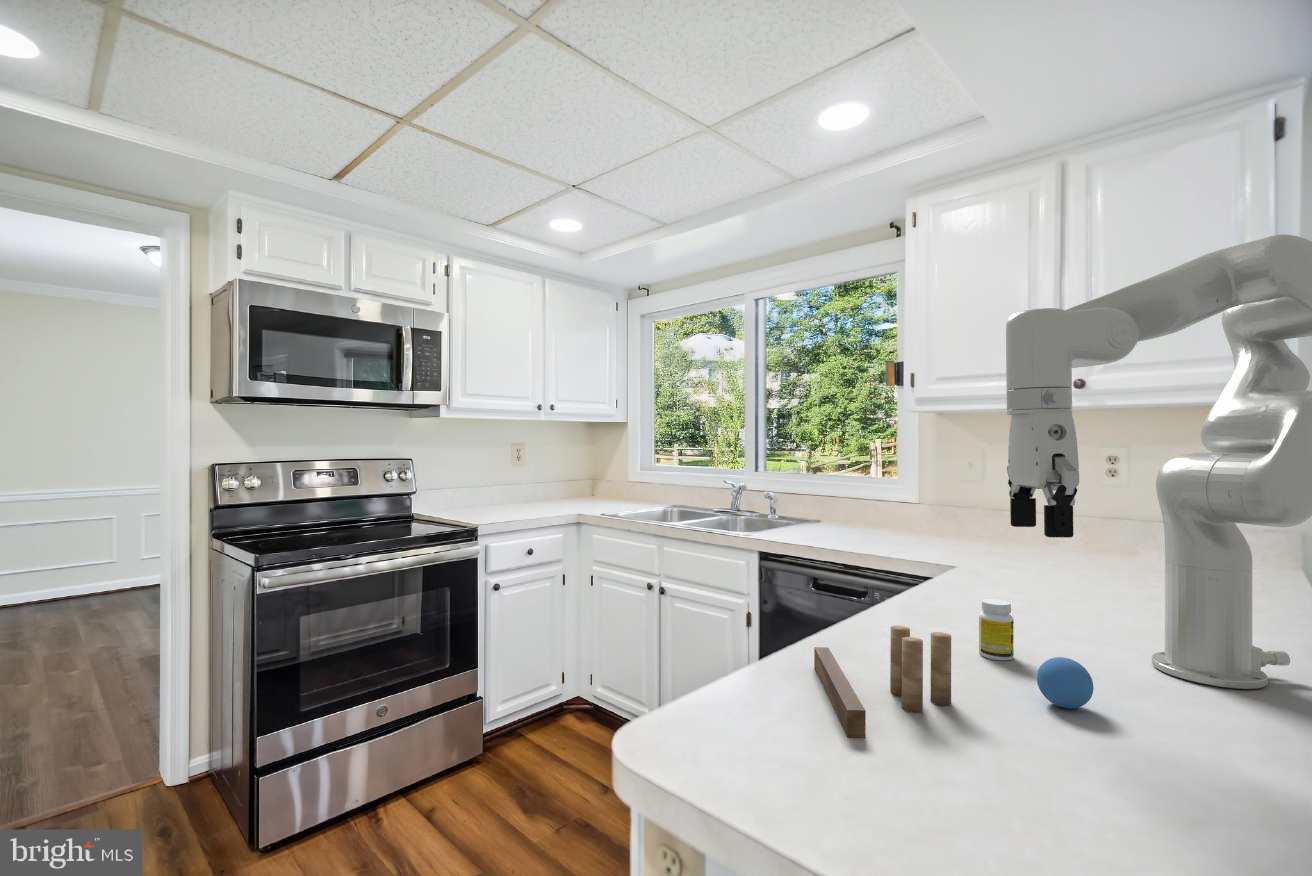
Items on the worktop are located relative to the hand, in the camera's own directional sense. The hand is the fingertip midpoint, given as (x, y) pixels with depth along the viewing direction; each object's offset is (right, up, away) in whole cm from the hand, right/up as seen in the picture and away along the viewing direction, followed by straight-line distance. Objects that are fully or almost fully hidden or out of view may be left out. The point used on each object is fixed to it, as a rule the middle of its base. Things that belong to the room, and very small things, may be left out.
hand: (1040, 531), depth 85 cm
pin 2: (-20, -21, -6) cm, 29 cm away
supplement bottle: (+1, -22, +14) cm, 26 cm away
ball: (0, -18, -5) cm, 19 cm away
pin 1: (-19, -21, -1) cm, 29 cm away
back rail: (-28, -21, -3) cm, 35 cm away
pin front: (-15, -21, -4) cm, 26 cm away
